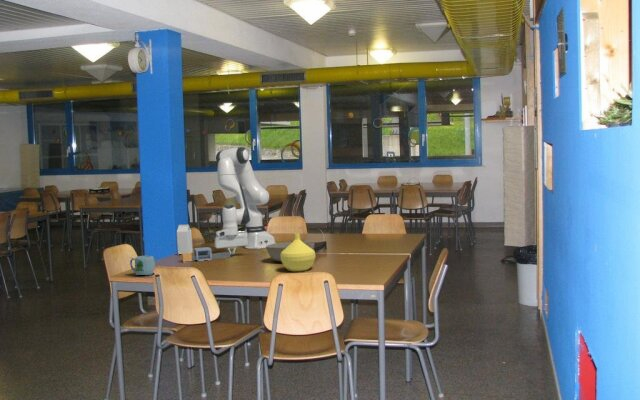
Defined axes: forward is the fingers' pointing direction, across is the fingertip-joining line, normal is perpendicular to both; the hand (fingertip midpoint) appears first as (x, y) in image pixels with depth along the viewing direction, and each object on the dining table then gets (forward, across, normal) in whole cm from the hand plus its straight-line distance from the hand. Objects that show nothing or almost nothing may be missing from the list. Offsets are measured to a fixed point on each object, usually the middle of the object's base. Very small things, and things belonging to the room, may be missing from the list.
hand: (232, 254), depth 408 cm
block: (+2, +27, 0) cm, 27 cm away
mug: (+2, +55, +32) cm, 64 cm away
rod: (+2, +13, 0) cm, 13 cm away
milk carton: (+2, +24, -32) cm, 40 cm away
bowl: (+2, -27, +36) cm, 45 cm away
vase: (+2, -22, +68) cm, 71 cm away
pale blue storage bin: (+2, +18, 0) cm, 18 cm away
